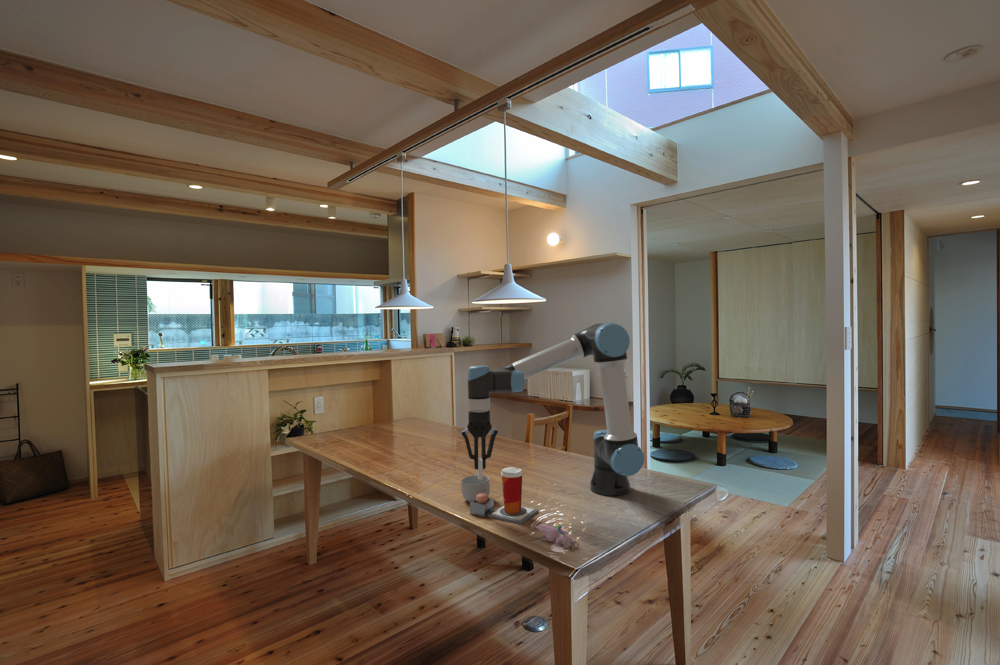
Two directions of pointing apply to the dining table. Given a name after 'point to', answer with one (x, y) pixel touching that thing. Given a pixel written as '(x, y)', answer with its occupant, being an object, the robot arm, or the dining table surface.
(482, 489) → the teacup
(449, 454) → the dining table surface
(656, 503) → the dining table surface
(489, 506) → the button housing
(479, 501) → the button
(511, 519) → the board
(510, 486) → the paper cup
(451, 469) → the dining table surface
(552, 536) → the pink unicorn toy
